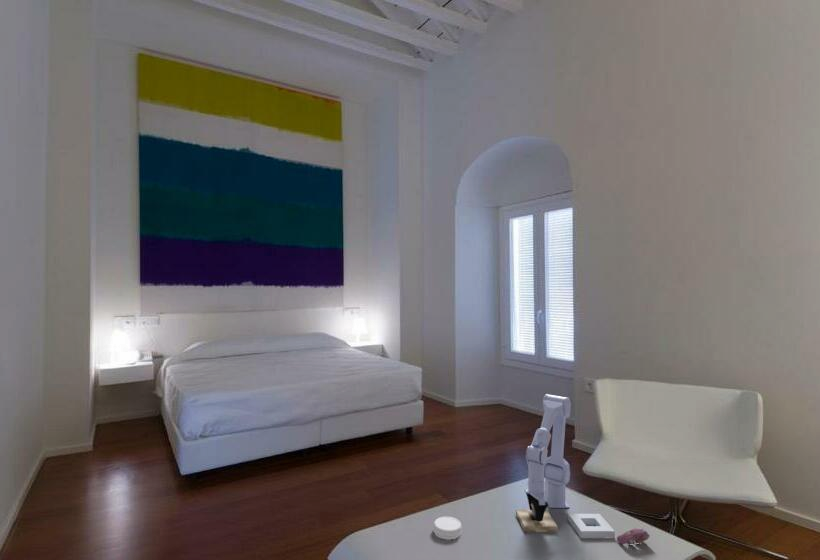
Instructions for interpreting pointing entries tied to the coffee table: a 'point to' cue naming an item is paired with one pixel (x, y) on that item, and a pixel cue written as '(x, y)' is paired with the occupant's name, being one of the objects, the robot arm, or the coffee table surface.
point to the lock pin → (533, 513)
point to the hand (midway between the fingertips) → (535, 515)
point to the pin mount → (536, 522)
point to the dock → (596, 531)
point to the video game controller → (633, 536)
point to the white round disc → (447, 528)
